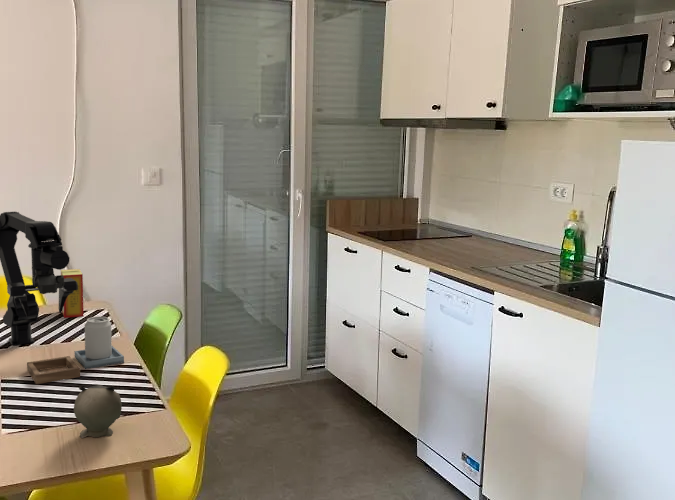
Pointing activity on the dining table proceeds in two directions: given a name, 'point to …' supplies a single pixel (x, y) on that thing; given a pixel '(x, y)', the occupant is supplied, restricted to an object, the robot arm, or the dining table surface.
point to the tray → (87, 364)
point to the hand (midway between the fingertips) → (44, 314)
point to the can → (98, 338)
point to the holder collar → (51, 376)
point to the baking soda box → (74, 295)
